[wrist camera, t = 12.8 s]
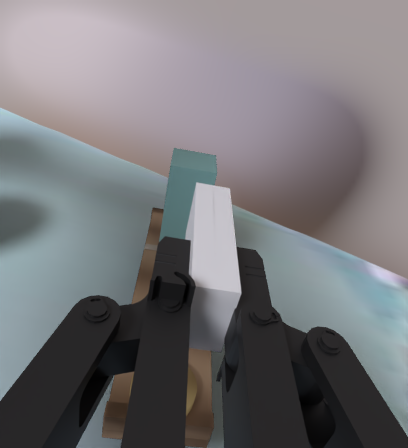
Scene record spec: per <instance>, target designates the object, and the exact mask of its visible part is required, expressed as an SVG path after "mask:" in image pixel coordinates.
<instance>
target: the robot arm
mask: <svg viewBox="0 0 408 448" xmlns="http://www.w3.org/2000/svg"><path fill="white" fill-rule="evenodd" d="M224 344H225V355H224V358H223V361H222V364H221V367H220V370H219V372H218V375H217V380H216V381H219V382H220V379H221V376H222V398H223V427H224V448H408V437H407V435H406V433H405V432H404V430H403V429H402V427H401V426H400V424H399V422H398V421H397V419H396V418H395V416H394V415H393V413H392V412H391V410H390V408H389V407H388V405H387V404H386V402H385V401H384V399H383V398H382V396H381V394H380V393H379V391H378V390H377V388H376V387H375V385H374V383H373V382H372V380H371V379H370V377H369V376H368V374H367V373H366V371H365V369H364V368H363V366H362V365H361V363H360V362H359V360H358V359H357V357H356V355H355V354H354V352H353V351H352V349H351V348H350V346H349V344H348V343H347V342H346V341H345V339H344V338H343V337H342V336H341V335H339V334H338V333H337V332H335V331H334V330H331V329H329V328H326V327H315V328H312V329H311V330H310V331H309V332H308V333H304V332H302V331H300V330H297V329H295V328H292V327H290V326H288V325H286V324H285V323H284V322H282V319H281V317H280V314H279V313H278V312H277V311H276V310H275V309H274V308H273V307H272V305H271V300H270V295H269V290H268V285H267V280H266V275H265V271H264V265H263V259H262V258H261V257H260V255H259V254H258V253H257V251H256V250H252V249H246V248H239V247H236V240H235V231H234V222H233V213H232V204H231V195H230V188H225V187H219V186H214V185H208V184H203V183H197V182H196V186H195V191H194V196H193V201H192V206H191V210H190V215H189V220H188V225H187V229H186V236H185V239H179V238H173V237H167V236H165V237H164V238H163V239H162V240H161V241H160V242H159V243H158V246H157V251H156V257H155V262H154V268H153V273H152V278H151V280H150V286H149V292H148V294H147V295H146V297H145V298H143V299H142V300H141V301H139V302H136V303H134V304H129V305H122V306H119V305H118V304H117V303H116V302H115V301H114V300H112V299H111V298H109V297H105V296H99V295H97V296H89V297H87V298H84V299H82V300H80V301H79V302H78V303H77V304H76V305H75V306H74V307H73V308H72V310H71V311H70V312H69V313H68V315H67V316H66V317H65V319H64V320H63V321H62V322H61V324H60V325H59V326H58V328H57V329H56V330H55V331H54V333H53V334H52V335H51V337H50V338H49V339H48V340H47V342H46V343H45V344H44V346H43V347H42V348H41V349H40V351H39V352H38V353H37V355H36V356H35V357H34V358H33V360H32V361H31V362H30V364H29V365H28V366H27V367H26V369H25V370H24V371H23V373H22V374H21V375H20V376H19V378H18V379H17V380H16V382H15V383H14V384H13V385H12V387H11V388H10V389H9V391H8V392H7V393H6V394H5V396H4V397H3V398H2V400H1V401H0V448H76V446H77V444H78V442H79V440H80V438H81V437H82V435H83V433H84V431H85V429H86V427H87V425H88V423H89V421H90V419H91V418H92V416H93V414H94V412H95V410H96V408H97V406H98V404H99V402H100V400H101V399H102V397H103V395H104V393H105V391H106V389H107V387H108V385H109V383H110V381H111V380H112V378H113V375H118V374H123V373H129V372H134V376H133V382H132V387H131V393H130V398H129V404H128V409H127V415H126V420H125V426H124V431H123V437H122V442H121V448H185V428H186V405H187V383H188V360H189V348H193V349H200V350H208V351H215V352H221V351H222V348H223V345H224Z"/></svg>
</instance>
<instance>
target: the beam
mask: <svg viewBox="0 0 408 448" xmlns="http://www.w3.org/2000/svg"><path fill="white" fill-rule="evenodd" d="M163 212H164V209H158V208H153V210H152V215H151V222H150V226H149V230H148V235H147V239H146V243H145V247H144V252H143V256H142V260H141V265H140V269H139V273H138V278H137V282H136V286H135V291H134V295H133V299H132V303H131V304H134V303H136V302H139V301H141V300H142V299H143V298H145V297H146V295H147V294H148V292H149V286H150V280H151V278H152V273H153V268H154V262H155V257H156V251H157V246H158V243H159V238H160V232H161V225H162V219H163ZM133 376H134V372H129V373H123V374H118V375H115V376H114V381H113V385H112V389H111V394H110V398H109V401H107V404H106V408H105V412H104V418H103V430H102V437H104V438H113V439H122V437H123V431H124V426H125V420H126V415H127V409H128V404H129V398H130V393H131V387H132V382H133ZM213 429H214V413H212V380H211V351H208V350H200V349H193V348H189V360H188V383H187V405H186V428H185V446H192V447H202V448H207V445H208V442H209V440H210V437H211V434H212V431H213Z"/></svg>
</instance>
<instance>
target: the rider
mask: <svg viewBox="0 0 408 448" xmlns="http://www.w3.org/2000/svg"><path fill="white" fill-rule="evenodd" d="M216 165H217V164H216V155H210V154H205V153H199V152H194V151H188V150H182V149H177V148H174V151H173V156H172V161H171V166H170V173H169V179H168V186H167V192H166V199H165V206H164V212H163V219H162V225H161V232H160V238H159V242H160V241H161V240H162V239H163V238H164V237H165V236H167V237H173V238H179V239H185V236H186V229H187V225H188V220H189V215H190V210H191V206H192V201H193V196H194V191H195V186H196V182H197V183H203V184H208V185H214V184H215V180H216V176H217V166H216Z"/></svg>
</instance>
